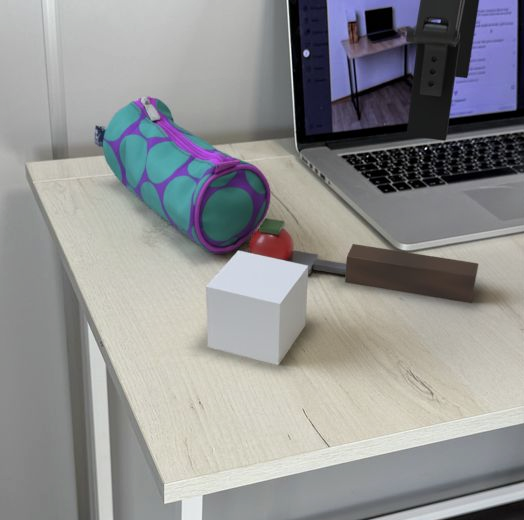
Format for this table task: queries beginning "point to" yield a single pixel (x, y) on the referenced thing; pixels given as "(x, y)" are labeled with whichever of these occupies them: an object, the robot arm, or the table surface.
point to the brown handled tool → (376, 266)
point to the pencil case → (184, 176)
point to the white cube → (256, 306)
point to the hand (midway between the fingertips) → (439, 103)
